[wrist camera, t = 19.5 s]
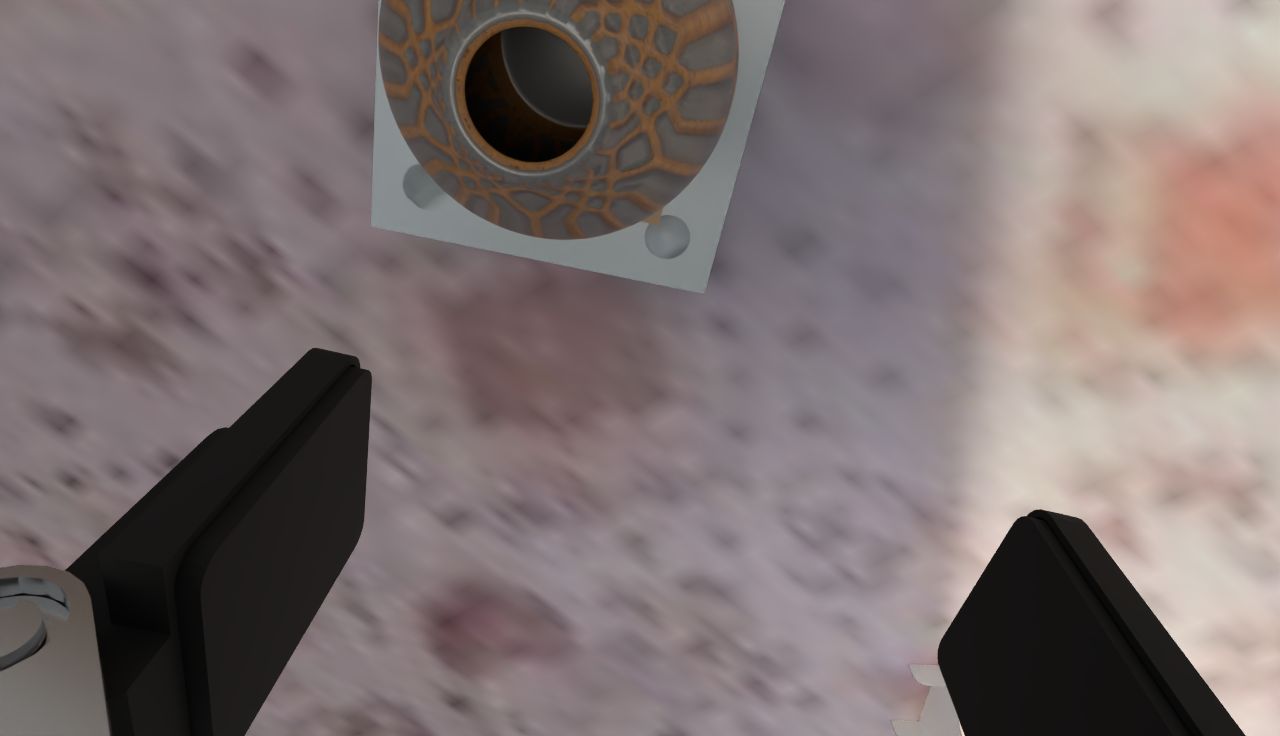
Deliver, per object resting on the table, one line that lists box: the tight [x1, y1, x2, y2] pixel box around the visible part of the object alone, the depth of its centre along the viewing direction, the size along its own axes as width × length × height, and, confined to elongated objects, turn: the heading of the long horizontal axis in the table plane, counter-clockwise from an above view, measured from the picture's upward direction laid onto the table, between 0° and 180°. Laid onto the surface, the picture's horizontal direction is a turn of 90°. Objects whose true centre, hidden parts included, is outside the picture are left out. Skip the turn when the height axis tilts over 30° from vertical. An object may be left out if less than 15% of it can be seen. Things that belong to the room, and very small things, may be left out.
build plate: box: [371, 0, 785, 294], centre depth 23 cm, size 12×12×2 cm
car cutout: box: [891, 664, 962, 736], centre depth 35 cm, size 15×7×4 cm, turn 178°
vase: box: [378, 0, 739, 240], centre depth 14 cm, size 7×7×9 cm
